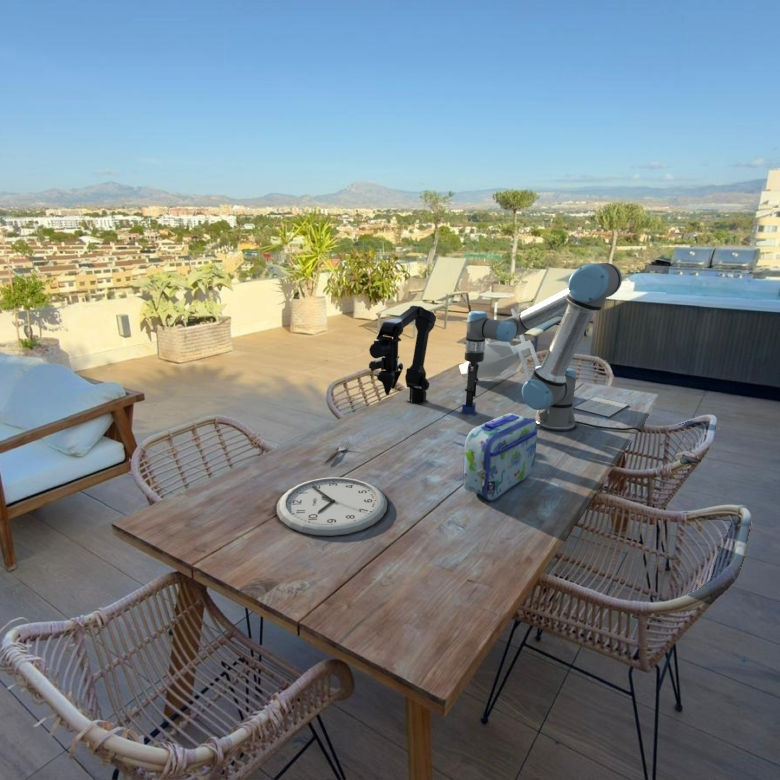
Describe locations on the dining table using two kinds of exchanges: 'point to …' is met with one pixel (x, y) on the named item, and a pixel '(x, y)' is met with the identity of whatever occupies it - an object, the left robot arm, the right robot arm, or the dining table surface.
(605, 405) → the invitation card
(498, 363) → the white plastic object
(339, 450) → the fork
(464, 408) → the brick
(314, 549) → the dining table surface
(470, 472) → the lunch box
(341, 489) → the wall clock
